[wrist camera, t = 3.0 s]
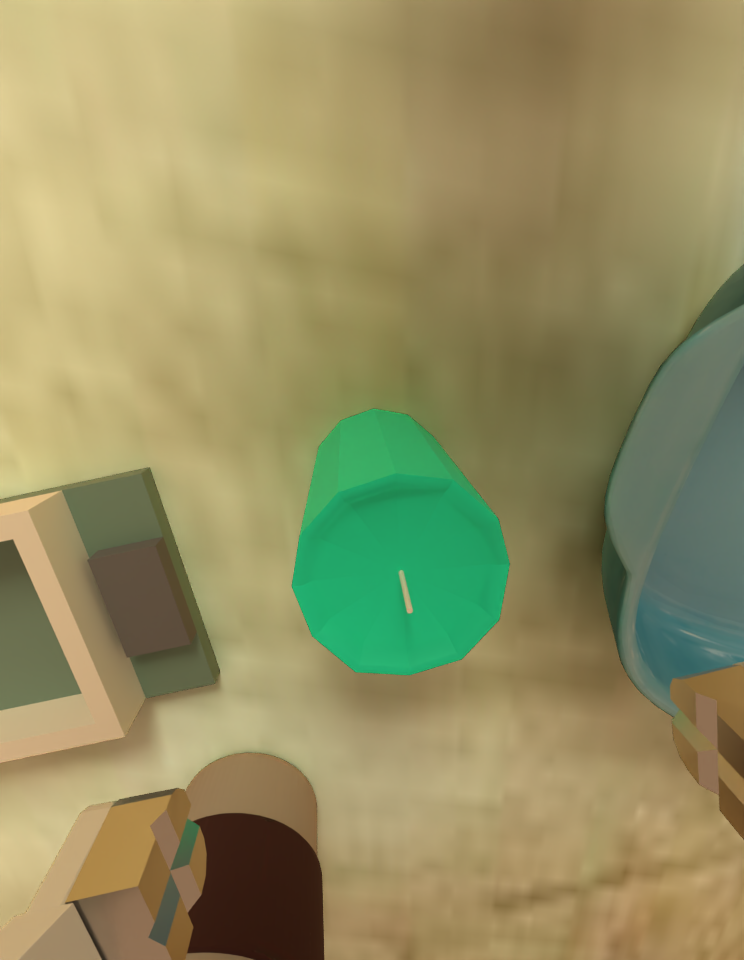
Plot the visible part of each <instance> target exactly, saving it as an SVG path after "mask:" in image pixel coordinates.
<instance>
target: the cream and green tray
mask: <svg viewBox="0 0 744 960" xmlns="http://www.w3.org/2000/svg"><path fill="white" fill-rule="evenodd" d="M219 672H220V670H219V667H218V664H217V661H216V658H215V655H214V652H213V650H212V647H211V644H210V641H209V638H208V635H207V632H206V629H205V626H204V624H203V621H202V618H201V615H200V612H199V609H198V606H197V603H196V600H195V598H194V595H193V592H192V589H191V586H190V583H189V580H188V577H187V575H186V572H185V569H184V566H183V563H182V560H181V557H180V554H179V551H178V549H177V546H176V543H175V540H174V537H173V534H172V531H171V528H170V525H169V523H168V520H167V517H166V514H165V511H164V508H163V505H162V502H161V499H160V497H159V494H158V491H157V488H156V485H155V482H154V479H153V476H152V474H151V471H150V468H144V469H140V470H135V471H130V472H126V473H121V474H116V475H112V476H107V477H102V478H98V479H93V480H88V481H84V482H79V483H74V484H70V485H65V486H60V487H56V488H51V489H46V490H41V491H37V492H32V493H27V494H23V495H18V496H13V497H9V498H4V499H0V763H2V762H7V761H12V760H17V759H22V758H26V757H31V756H36V755H41V754H46V753H50V752H55V751H60V750H65V749H70V748H74V747H79V746H84V745H89V744H94V743H98V742H103V741H108V740H113V739H118V738H122V737H125V736H126V734H127V733H128V731H129V729H130V727H131V725H132V723H133V721H134V719H135V718H136V716H137V714H138V712H139V710H140V708H141V706H142V704H143V703H144V701H145V699H146V698H150V697H154V696H159V695H164V694H169V693H174V692H178V691H183V690H188V689H193V688H197V687H202V686H207V685H212V684H215V683H216V680H217V677H218V675H219Z"/></svg>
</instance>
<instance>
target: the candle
mask: <svg viewBox="0 0 744 960" xmlns="http://www.w3.org/2000/svg"><path fill="white" fill-rule="evenodd" d="M509 566H510V563H509V559H508V555H507V551H506V547H505V543H504V539H503V535H502V531H501V527H500V523H499V519H498V518H497V516H496V515H495V514H494V513H493V511H492V510H491V509H490V508H489V506H488V505H487V504H486V503H485V501H484V500H483V499H482V497H481V496H480V495H479V494H478V492H477V491H476V490H475V489H474V487H473V486H472V485H471V484H470V482H469V481H468V480H467V479H466V477H465V476H464V475H463V473H462V472H461V471H460V470H459V468H458V467H457V466H456V465H455V463H454V462H453V461H452V460H451V458H450V457H449V456H448V455H447V453H446V452H445V451H444V449H443V448H442V447H441V446H440V444H439V443H438V442H437V441H436V439H435V438H434V437H433V436H432V435H431V434H430V433H429V432H427V431H426V430H425V429H424V428H423V427H422V426H420V425H419V424H418V423H417V422H416V421H415V420H413V419H412V418H411V417H410V416H409V415H407V414H402V413H396V412H390V411H385V410H379V409H371V410H368V411H365V412H363V413H360V414H357V415H354V416H352V417H349V418H346V419H343V420H341V421H340V422H339V423H338V424H337V426H336V427H335V428H334V429H333V430H332V431H331V433H330V434H329V435H328V436H327V437H326V439H325V440H324V441H323V442H322V443H321V445H320V446H319V448H318V453H317V457H316V462H315V467H314V471H313V476H312V481H311V485H310V490H309V494H308V499H307V504H306V508H305V513H304V518H303V522H302V527H301V531H300V536H299V543H298V549H297V555H296V562H295V568H294V575H293V581H292V588H293V591H294V593H295V596H296V598H297V600H298V603H299V605H300V608H301V610H302V613H303V615H304V617H305V620H306V622H307V625H308V627H309V630H310V632H311V634H312V637H314V638H315V639H316V640H317V641H318V642H320V643H321V644H322V645H323V646H325V647H326V648H327V649H328V650H329V651H331V652H332V653H333V654H334V655H335V656H337V657H338V658H339V659H340V660H341V661H343V662H344V663H345V664H346V665H347V666H349V667H350V668H351V669H352V670H354V671H355V672H360V673H378V674H395V675H412V674H415V673H419V672H422V671H425V670H429V669H432V668H435V667H438V666H442V665H445V664H448V663H452V662H455V661H458V660H461V659H463V658H464V657H465V655H466V654H467V653H468V652H469V651H470V650H471V649H472V648H473V647H474V646H475V645H476V644H477V643H478V642H479V641H480V640H481V639H482V638H483V637H484V635H485V634H486V633H487V632H488V631H489V630H490V629H491V628H492V627H493V626H494V625H495V624H496V623H497V622H498V621H499V619H500V614H501V608H502V603H503V598H504V592H505V587H506V582H507V577H508V571H509Z"/></svg>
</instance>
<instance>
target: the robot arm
mask: <svg viewBox="0 0 744 960" xmlns="http://www.w3.org/2000/svg"><path fill="white" fill-rule="evenodd" d="M670 699H671V700H672V701H673V703H674V704H675V705H676V706H677V707H678V708H679V711H678V712H677V714H676V716H675V717H674V719H673V720H672V730H673V739H674V742H675V745H676V747H677V750H678V753H679V755H680V758H681V759H682V761H683V763H684V764H685V766H686V768H687V770H688V771H689V772H690V774H691V775H692V776H693V777H694V779H695V780H696V781H697V783H698V784H699V785H701V786H703V787H705V788H707V789H708V790H710V791H712V792H714V793H716V794H718V795H719V808H720V811H721V813H722V814H723V815H724V816H725V817H726V819H727V820H728V821H729V822H730V824H731V825H732V826H733V827H734V829H735V830H736V831H737V832H738V833H739V835H740V836H741V837H742V838H743V840H744V662H740V663H735V664H733V665H728V666H724V667H720V668H715V669H711V670H707V671H702V672H698V673H694V674H689V675H685V676H681V677H676V678H673V679H672V682H671V684H670ZM190 808H191V803H190V801H189V799H188V796H187V794H186V792H185V790H184V789H180V788H175V789H170V790H165V791H160V792H155V793H149V794H144V795H139V796H134V797H129V798H124V799H119V800H118V801H113V802H107V803H102V804H96V805H91V806H88V807H87V808H86V809H85V810H84V811H82V812H81V813H80V815H79V816H78V818H77V820H76V822H75V823H74V825H73V827H72V829H71V831H70V833H69V834H68V836H67V838H66V840H65V842H64V844H63V845H62V847H61V849H60V851H59V853H58V855H57V856H56V858H55V860H54V862H53V864H52V866H51V867H50V869H49V871H48V873H47V875H46V877H45V878H44V880H43V882H42V884H41V886H40V888H39V889H38V891H37V893H36V895H35V897H34V899H33V900H32V902H31V904H30V906H29V908H28V909H27V911H26V913H24V914H20V915H16V916H14V917H13V918H12V919H11V920H10V921H9V922H8V923H7V924H6V925H5V926H4V927H3V928H2V929H1V930H0V960H185V959H186V955H187V951H188V947H189V943H190V939H191V935H192V931H193V925H192V922H191V920H190V918H189V915H188V912H189V910H190V909H191V908H192V906H193V905H194V904H195V903H196V901H197V900H198V899H199V897H200V896H201V894H202V890H203V885H204V881H205V876H206V857H207V853H206V847H205V840H204V836H203V834H202V831H201V828H200V826H199V825H197V824H196V823H194V822H192V821H191V820H189V819H188V815H189V811H190Z"/></svg>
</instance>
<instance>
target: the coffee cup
mask: <svg viewBox="0 0 744 960" xmlns="http://www.w3.org/2000/svg"><path fill="white" fill-rule="evenodd" d="M186 794H187V796H188V799H189V801H190V803H191V808H190V811H189V815H188V819H189V820H191V821H192V822H194V823H196V824H197V825H199V826H200V828H201V831H202V834H203V836H204V840H205V847H206V853H207V857H206V876H205V881H204V885H203V890H202V894H201V896H200V897H199V899H198V900H197V901H196V903H195V904H194V905H193V906H192V908H191V909H190V910H189V912H188V915H189V918H190V920H191V922H192V925H193V931H192V935H191V939H190V943H189V947H188V951H187V955H186V959H185V960H324V930H323V890H322V872H321V867H320V863H319V860H318V858H317V804H316V798H315V794H314V792H313V789H312V787H311V785H310V783H309V781H308V780H307V778H306V777H305V776H304V775H303V774H302V773H301V772H300V771H299V770H298V769H297V768H296V767H294V766H293V765H291V764H290V763H288V762H286V761H285V760H282V759H280V758H277V757H275V756H271V755H267V754H261V753H240V754H234V755H229V756H226V757H223V758H220V759H218V760H216V761H214V762H212V763H210V764H209V765H208V766H206V767H205V768H203V769H202V770H201V771H200V772H199V773H198V774H197V775H196V776H195V777H194V778H193V780H192V781H191V783H190V784H189V786H188V787H187V789H186Z"/></svg>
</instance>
